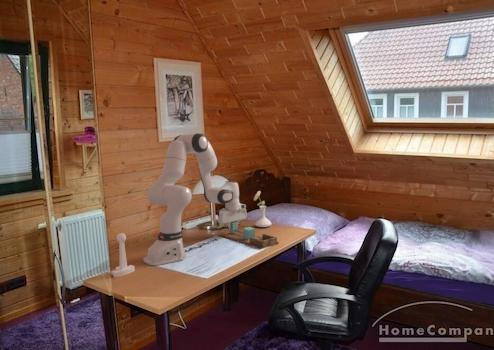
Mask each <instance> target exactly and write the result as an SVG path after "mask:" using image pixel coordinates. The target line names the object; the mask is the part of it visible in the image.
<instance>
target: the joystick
mask: <svg viewBox="0 0 494 350" xmlns="http://www.w3.org/2000/svg"><path fill="white" fill-rule="evenodd" d="M126 239H127V236H126V234H125V233H123V232H121V233H118V234H117V235H116V241H117V242H118V243H119V245H118V246H119V248H118V249H119V250H118V251H119V256H118V257H119V259H118V260H119V266H116V267H115V269H114V270H111V271H110V273H111V274H110V275H111V276H113V278H118V277H122V276H126V275H129V274H131V273H133V272H135V271H136V270H135V269H136V268H135V265H132V264H129V265H128V262H127V261H128V260H127V254H126V246H125V242H126Z"/></svg>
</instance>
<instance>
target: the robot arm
mask: <svg viewBox="0 0 494 350" xmlns="http://www.w3.org/2000/svg"><path fill="white" fill-rule="evenodd" d="M188 154H189V155H190V154H195V158H196V161H197V163H198V171H199V177H200V178H201V179H200V181H201V183H202V188H203V196H204V199H205V201H206V202H207V203H214V204H220V205H224V207H225V208H221V209H219V212H218V220H219V223H220V224H225V223H227V225H228V228H227V229H228V230H229V229H232V226H230V222H234V221H236V222H237V228H239V220H242V221H243V220H245V219H247V218H248V217H247V216H248V214H247V209H246V208H247V205H246V204H245V203H244V204H243V203H241V202H240V187H239V183H238V182H237V181H231V180H227V181H225V182H224V184H223V185H221V186H220V187H218V186H215V185H214V183H213V178H212V175H211V174H212V173H211V172H212V171H214V170H215V169H216V168H217V167H218V166H217V165H218V159H217V156H216V152H215V150H214V148H213V146H212V144H211V143H210V141H209V140H208V138H207V137H206V136H205V134H203V133H184V134H180V135H177V136H176V137H174V138H173V140H172V141H171V142H170V143H169V145H168V148H167V151H166V154H165V159H164V165H163V168H162V171H161V174H160V176H159V177H158V179H157V181H155V183H153V184H152V185H151V186H149V188H148V189H147V191H146V197H147V201H148V202H149V203H151V204H154V205H157V206H166V207H167V208H166V212H164V213H163V214H161V216H160V218H159V225H160V226H159V227H160V229H159V230H160V231H159V233H158V232H154V233H153V236H154V237H155V238H157V240H155V242H153V244H151V245H150V247H148V249H147V256H145V257H143V259H142V260H143V263H145V264H147V265H150V266H155V267H156V266H161V265H165V264H167V265H168V264H170V263H176V262H180V261H181V262H182V261H183V260H184V258H186V256H187V254H186V252H185V248H184V247H185V246H184V243H183V239H184V238H183V237H184V236H183V230H182V215H183V213H184V210H185V208H186V207H187V206H188V205H189V204H190V203H191V202H192V198H193V195H192V194H193V193H192V191H191V189H190V188H188V187H186V186H183V185H179V184H177V185H176V184H175V183H176V182H177V181H179V180H180V179H182V178H183V176H184V174H185V168H186V163H187V155H188Z"/></svg>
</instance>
